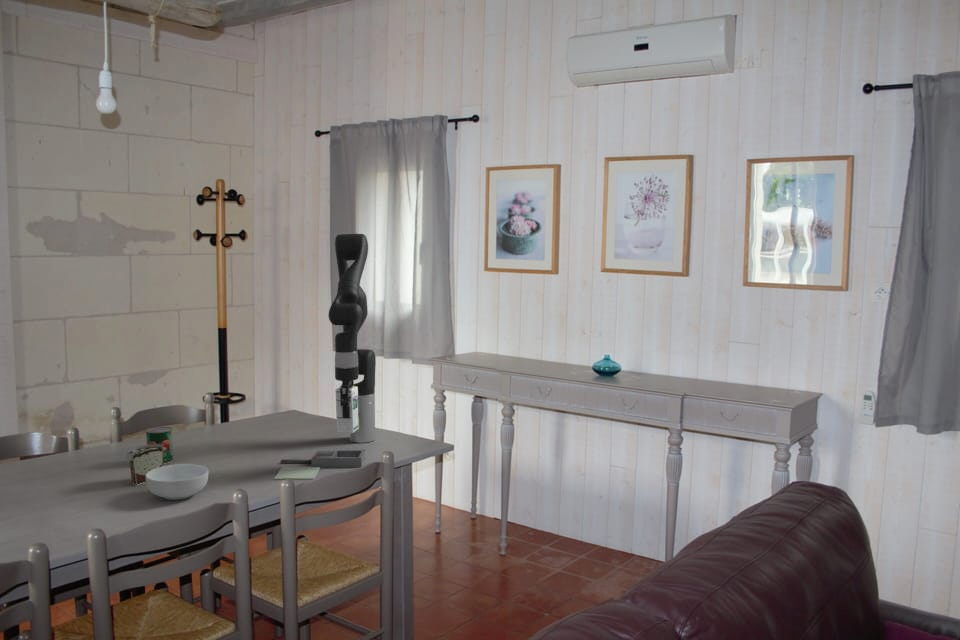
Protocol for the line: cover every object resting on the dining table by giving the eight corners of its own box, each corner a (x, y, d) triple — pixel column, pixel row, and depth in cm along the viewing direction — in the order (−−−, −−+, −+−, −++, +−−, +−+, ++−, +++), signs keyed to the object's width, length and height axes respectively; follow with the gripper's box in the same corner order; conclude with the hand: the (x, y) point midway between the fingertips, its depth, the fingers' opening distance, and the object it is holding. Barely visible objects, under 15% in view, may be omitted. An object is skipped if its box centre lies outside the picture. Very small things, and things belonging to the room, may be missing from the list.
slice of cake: (151, 473, 257) (150, 442, 256) (165, 476, 254) (164, 444, 253) (118, 484, 246) (116, 451, 245) (132, 487, 243) (131, 454, 242)
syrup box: (353, 433, 265) (352, 389, 263) (336, 432, 266) (335, 388, 264) (359, 429, 271) (358, 385, 269) (342, 428, 272) (341, 385, 270)
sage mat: (282, 468, 263) (282, 467, 263) (320, 468, 263) (320, 466, 263) (274, 479, 251) (274, 478, 251) (313, 479, 251) (313, 478, 251)
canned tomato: (166, 457, 276) (165, 425, 275) (177, 462, 270) (175, 429, 269) (143, 461, 270) (141, 429, 269) (153, 466, 265) (151, 433, 263)
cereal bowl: (135, 504, 228) (134, 479, 227) (161, 486, 244) (160, 463, 244) (195, 505, 227) (194, 481, 226) (217, 487, 244) (217, 464, 243)
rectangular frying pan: (283, 458, 274) (283, 448, 273) (365, 458, 274) (365, 448, 274) (276, 467, 264) (276, 457, 264) (361, 467, 264) (361, 456, 264)
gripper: (338, 361, 273) (339, 410, 275) (331, 368, 259) (332, 420, 261) (360, 361, 273) (361, 410, 275) (355, 368, 259) (356, 420, 261)
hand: (347, 415), depth 268 cm, fingers closed on syrup box, 6 cm apart
